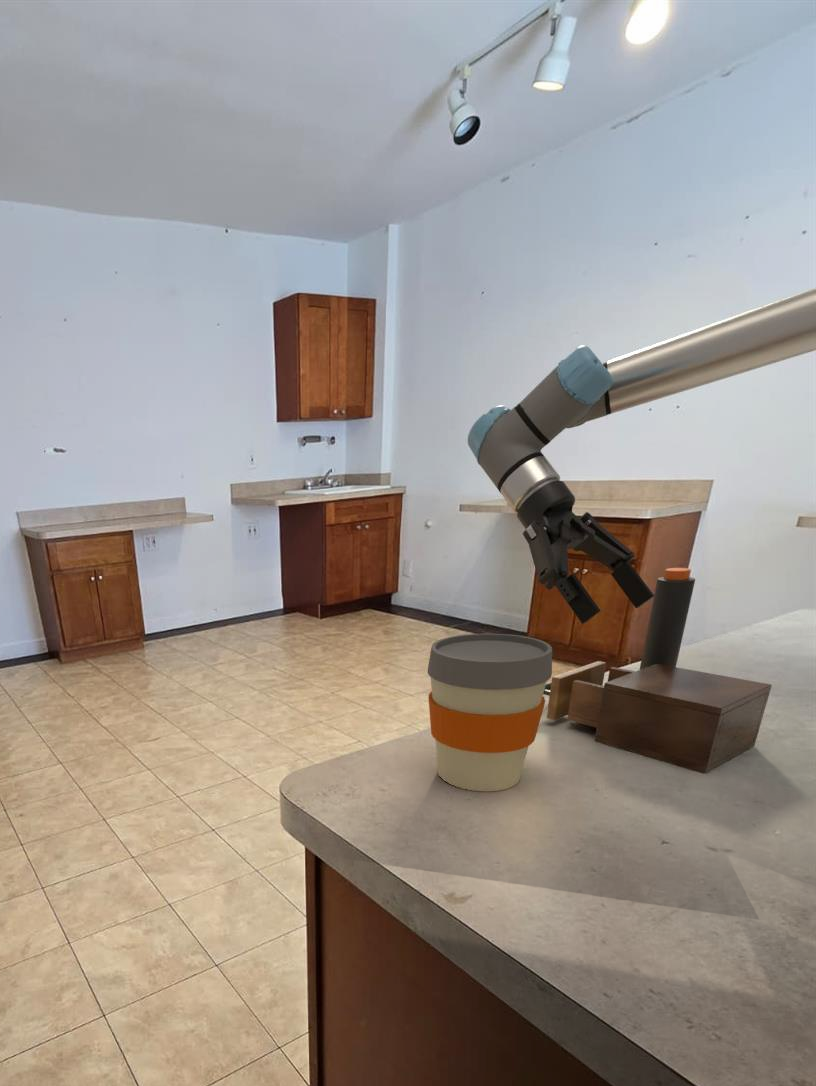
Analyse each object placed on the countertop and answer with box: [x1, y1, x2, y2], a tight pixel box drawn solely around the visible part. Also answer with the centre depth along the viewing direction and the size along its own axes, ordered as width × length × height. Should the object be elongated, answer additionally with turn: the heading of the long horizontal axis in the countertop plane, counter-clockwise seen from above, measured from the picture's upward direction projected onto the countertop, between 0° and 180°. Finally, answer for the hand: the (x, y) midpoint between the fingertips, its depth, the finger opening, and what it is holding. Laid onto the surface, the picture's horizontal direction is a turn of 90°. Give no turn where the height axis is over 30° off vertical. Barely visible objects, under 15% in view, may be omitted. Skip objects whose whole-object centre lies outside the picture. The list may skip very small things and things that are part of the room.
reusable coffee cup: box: [426, 633, 553, 792], centre depth 71 cm, size 13×13×15 cm
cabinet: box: [594, 664, 773, 774], centre depth 76 cm, size 13×12×8 cm
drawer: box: [543, 660, 637, 729], centre depth 84 cm, size 15×10×6 cm
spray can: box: [639, 567, 696, 670], centre depth 87 cm, size 5×5×18 cm
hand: (619, 609), depth 91 cm, fingers open, 13 cm apart
